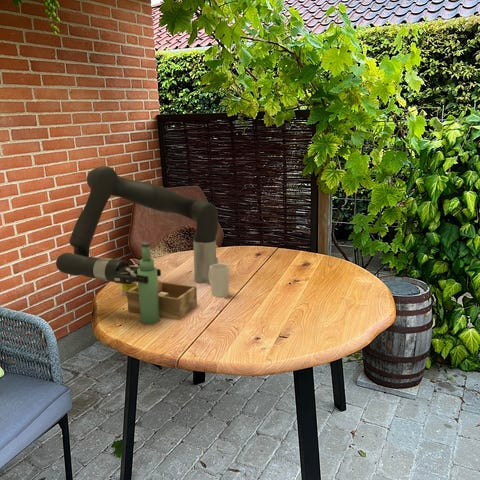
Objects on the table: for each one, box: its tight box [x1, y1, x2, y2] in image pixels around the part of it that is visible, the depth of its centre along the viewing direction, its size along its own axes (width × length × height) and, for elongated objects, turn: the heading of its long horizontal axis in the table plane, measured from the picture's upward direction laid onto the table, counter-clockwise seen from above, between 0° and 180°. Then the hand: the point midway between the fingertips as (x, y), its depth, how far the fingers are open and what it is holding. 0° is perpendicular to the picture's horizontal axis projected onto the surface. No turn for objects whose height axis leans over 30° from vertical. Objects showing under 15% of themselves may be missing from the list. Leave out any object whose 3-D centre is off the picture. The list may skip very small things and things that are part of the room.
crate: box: [126, 279, 198, 321], centre depth 153 cm, size 13×20×9 cm, turn 68°
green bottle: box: [137, 241, 161, 325], centre depth 141 cm, size 6×6×27 cm
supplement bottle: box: [121, 282, 138, 296], centre depth 169 cm, size 6×6×10 cm
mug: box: [208, 263, 230, 299], centre depth 167 cm, size 10×7×12 cm, turn 42°
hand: (154, 276), depth 139 cm, fingers open, 6 cm apart
